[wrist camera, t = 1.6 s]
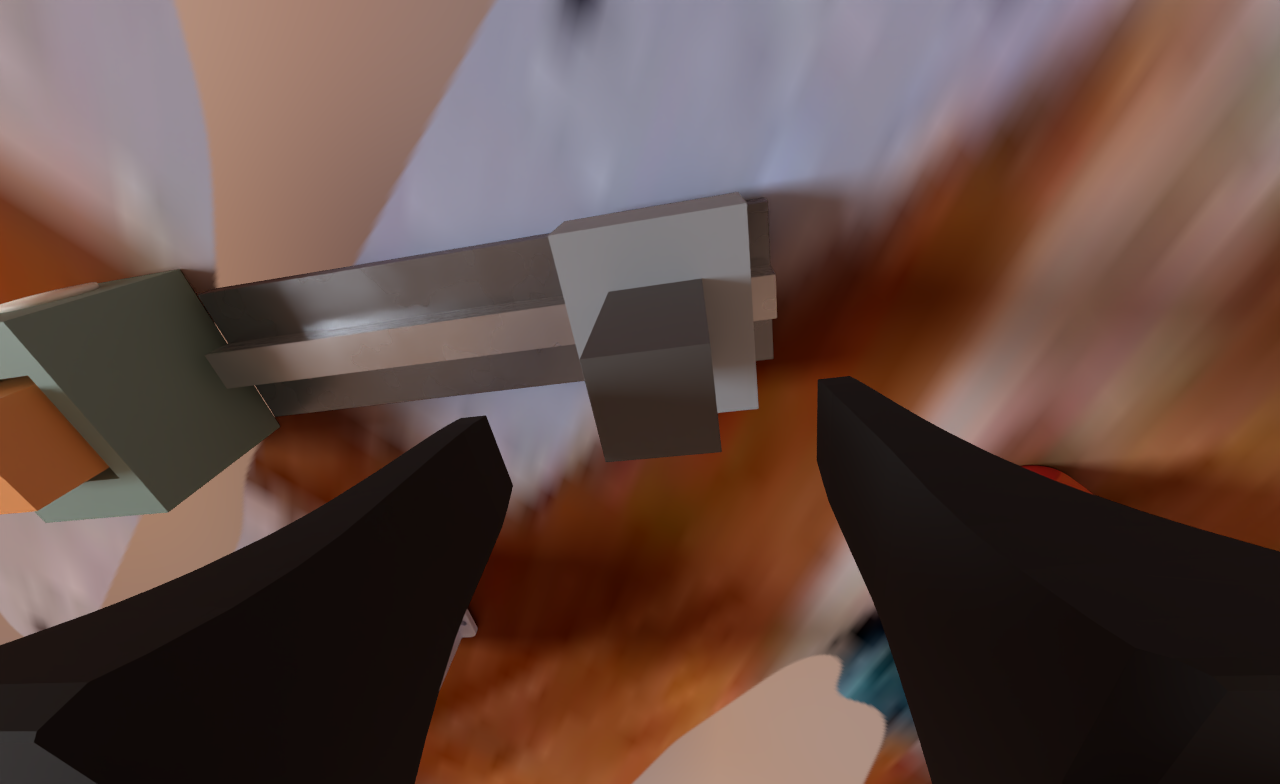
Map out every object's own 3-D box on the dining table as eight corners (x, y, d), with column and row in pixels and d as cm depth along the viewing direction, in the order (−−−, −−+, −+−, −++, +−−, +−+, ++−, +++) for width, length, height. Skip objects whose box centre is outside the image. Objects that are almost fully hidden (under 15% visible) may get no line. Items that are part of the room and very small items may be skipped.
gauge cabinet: (280, 426, 24) (168, 512, 19) (179, 438, 25) (45, 522, 19) (176, 264, 20) (-3, 315, 15) (61, 284, 21) (-146, 339, 16)
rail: (770, 350, 20) (778, 372, 18) (287, 407, 23) (255, 431, 21) (764, 197, 17) (773, 206, 15) (214, 288, 20) (170, 304, 19)
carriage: (749, 377, 19) (784, 506, 13) (605, 393, 20) (569, 522, 14) (737, 192, 16) (776, 241, 9) (564, 221, 17) (491, 284, 10)
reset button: (140, 448, 19) (37, 511, 16) (67, 456, 19) (-46, 518, 16) (74, 368, 17) (-56, 421, 14) (-4, 379, 18) (-146, 433, 15)
